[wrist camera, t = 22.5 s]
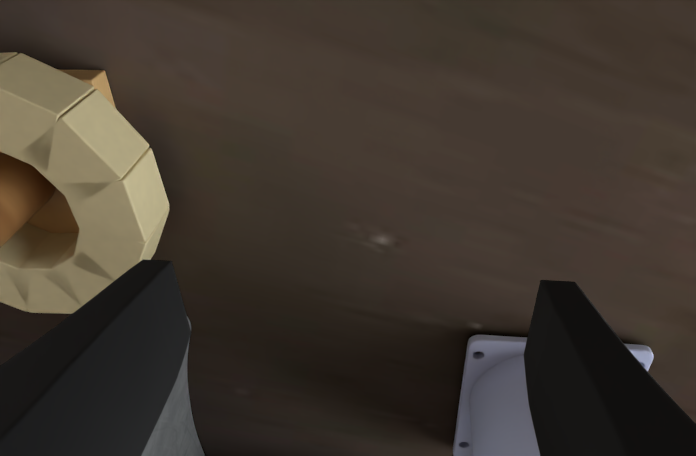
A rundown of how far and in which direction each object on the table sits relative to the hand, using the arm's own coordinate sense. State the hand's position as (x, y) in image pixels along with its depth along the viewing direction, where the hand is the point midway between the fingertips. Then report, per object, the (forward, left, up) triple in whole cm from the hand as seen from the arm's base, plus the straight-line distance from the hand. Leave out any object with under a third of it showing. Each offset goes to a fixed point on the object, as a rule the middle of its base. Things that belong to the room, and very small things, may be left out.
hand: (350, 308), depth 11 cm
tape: (-3, +13, -9) cm, 17 cm away
